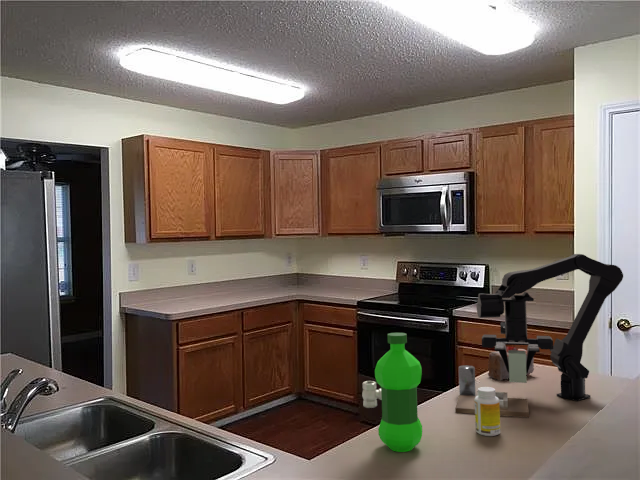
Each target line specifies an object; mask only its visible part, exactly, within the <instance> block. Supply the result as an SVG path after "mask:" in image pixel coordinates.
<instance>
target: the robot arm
mask: <svg viewBox="0 0 640 480" xmlns="http://www.w3.org/2000/svg"><path fill="white" fill-rule="evenodd" d="M577 270H579V271H581V272H583V273H584V274H587V275H588V276H590V277H589V281H588V292H587V293H586V296H585V298H584V300H583V302H582V304H581V306H580V308H579V310H578V312H577V314H576V315H575V318H574V320H573V322H572V324H571V325H570V327H569V329H568V332H567V333H566V336H564V337H563V338H562V339H559V338H555V340H553V338H552V337H551V336H550V335H536V338H528V320H527V318H528V317H527V302H533V301H534V300H535V298H533V297H532V296H531V295H530V294H529V293H528V292H527V291H528V290H530V289H532V288H533V287H535V286H536V285H538V284H540V283H541V282H544V281H546V280H547V281H548V280H550V279H552V278H556V277H559V276H563V275H565V274H568V273H571V272H575V271H577ZM623 278H624V273H623V271H622V269H621V268H620V267H619V266H618V265H615V264H610V263H609V264H608V263H603V262H601V261H598V260H596V259H593V258H590V257H588V256H587V255H585V254H581V253H573V254H572V255H569V256H568V257H565V258H561V259H558V260H555V261H553V262H550V263H545V264H543V265H541V266H538V267H535V268H530V269H521V270H516V271H510V272H507V273H505V274H504V275H503V278H502V279H501V284H500V286H499V287H498V289H497V290H496V291H495V293H478V295H477V297H478V298H477V302H476V314H477V317H478V318H479V319H487V318H488V319H489V318H500V317H501V316H502V315H504V321H503V322H500V324H499V325H500V334H501V335H505V337H497V335H496V334H483V335H482V336H481V348H484V349H485V348H486V349H487V348H488V349H489V348H490V349H494V352H498V351H499V353H500V355H501V357H502V358H503V361H504V363H505V366H506V369H507V371H508V372H509V363H508V357H507V351H506V346H508V345H509V346H527V350H526V351H527V360H526V373H528V370H529V367H530V364H531V361H532V359H533V358H534V357H535V355H536V353H540V352H541V351H540V350H549V351H550V352H551V353H550V355H549V357H550V360H551V363H552V364H553V365H554V366H556V368H557V369H558V372H560V373H561V375H560V392H559V393H556V396H557V397H560V398H564V399H567V400H572V401H575V402H578V401H582V400H584V399H588V398H591V394H587V393H586V379H588V378H589V374H590V370H589V369H588V368H587V367H585V366H584V365H583V363H581V361H582V358H583V351H584V349H583V348H584V342H585V341H586V338H587V336H588V334H589V332H590V331H591V328H592V326H593V325H594V323H595V320H596V318H597V316H598V315H599V313H600V311H601V308H602V307H603V305H604V303H605V300H606V299H607V297H609V296H610V295H611V294H612V293H614V291H615V290H616V289H617V288H618V286H619V285H620V284H621V282H622V281H623Z"/></svg>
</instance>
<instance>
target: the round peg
mask: <svg viewBox="0 0 640 480" xmlns="http://www.w3.org/2000/svg"><path fill="white" fill-rule="evenodd" d="M458 381H459V382H458V386H459V387H458V389H459V391H458V392H459V395H467V396H476V392H477V390H476V368H475V366H473V365H466V364H465V365H459V366H458Z"/></svg>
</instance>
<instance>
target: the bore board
mask: <svg viewBox="0 0 640 480" xmlns="http://www.w3.org/2000/svg"><path fill="white" fill-rule="evenodd" d="M495 393H496V397H498V398H499V405H500V415H502V416H501V417H503V416H504V417H517V418H518V417H519V418H529V417H530V411H529V404H528V403H529V402H528V399H527V398H521V397H520V398H519V397H517V398H516V397H508V392H501V391H495ZM476 396H478V390H476ZM476 396H467V395H460V394H459V395H458V398H457V401H456V404H455V407H454V408H455V409H454V410H455V411H454V413H457V414H458V413H459V414H472V415H473V414H474V415H475V397H476Z"/></svg>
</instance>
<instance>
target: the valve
mask: <svg viewBox="0 0 640 480" xmlns="http://www.w3.org/2000/svg"><path fill="white" fill-rule="evenodd" d="M361 395H362V399H363V401H362V403H363V408H366V409H370V408H371V409H372V408H373V409H374V408H376V407H377V406H378V400H380V401H382V396H381V387H380V388H378V389H377V382H376V381H374V380H366V381H363V382H362V393H361ZM377 399H378V400H377Z"/></svg>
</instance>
